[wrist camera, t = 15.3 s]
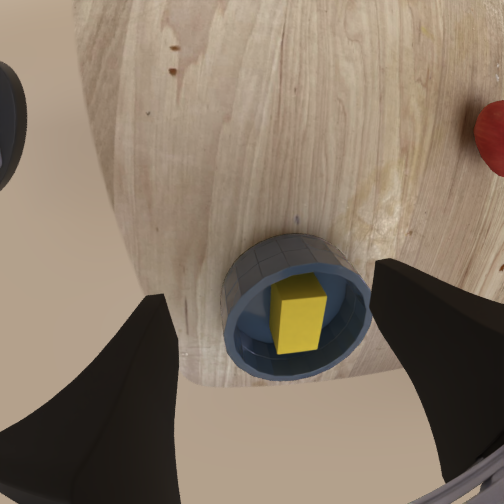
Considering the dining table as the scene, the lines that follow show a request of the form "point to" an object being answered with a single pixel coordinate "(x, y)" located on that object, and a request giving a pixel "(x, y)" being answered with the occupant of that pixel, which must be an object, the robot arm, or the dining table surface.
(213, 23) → the dining table surface
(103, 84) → the dining table surface
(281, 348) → the yellow block
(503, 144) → the onion
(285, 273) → the bowl
